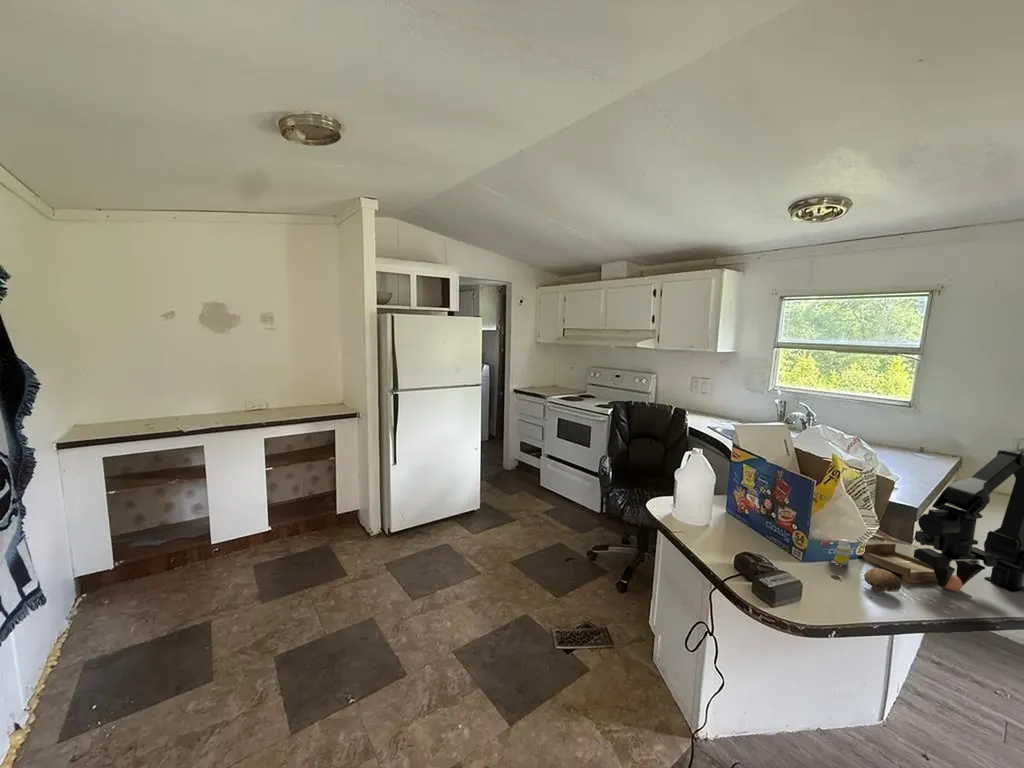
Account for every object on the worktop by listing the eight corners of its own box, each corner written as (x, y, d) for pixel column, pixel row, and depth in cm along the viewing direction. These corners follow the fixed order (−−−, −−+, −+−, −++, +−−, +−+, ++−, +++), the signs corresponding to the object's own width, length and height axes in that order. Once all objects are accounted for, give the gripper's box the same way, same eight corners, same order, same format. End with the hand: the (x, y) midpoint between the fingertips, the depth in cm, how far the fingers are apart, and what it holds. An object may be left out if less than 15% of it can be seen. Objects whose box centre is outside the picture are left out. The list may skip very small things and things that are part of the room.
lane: (889, 555, 137) (891, 541, 137) (941, 584, 122) (944, 568, 121) (858, 556, 136) (860, 542, 136) (906, 585, 121) (908, 569, 120)
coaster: (947, 584, 122) (947, 582, 121) (971, 597, 116) (971, 595, 116) (928, 584, 121) (928, 583, 121) (951, 598, 115) (951, 596, 115)
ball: (948, 584, 121) (950, 570, 120) (965, 594, 116) (968, 579, 116) (934, 585, 120) (936, 570, 120) (951, 594, 116) (953, 579, 115)
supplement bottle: (829, 557, 135) (832, 532, 134) (848, 563, 132) (851, 537, 131) (828, 564, 131) (831, 538, 130) (848, 569, 128) (851, 543, 127)
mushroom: (854, 584, 121) (857, 563, 120) (883, 585, 120) (886, 564, 120) (877, 601, 113) (880, 579, 112) (908, 603, 112) (912, 580, 112)
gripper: (956, 519, 125) (948, 569, 127) (898, 520, 123) (891, 570, 125) (1003, 537, 114) (993, 591, 116) (939, 538, 112) (931, 594, 114)
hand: (950, 586), depth 118 cm, fingers open, 5 cm apart
